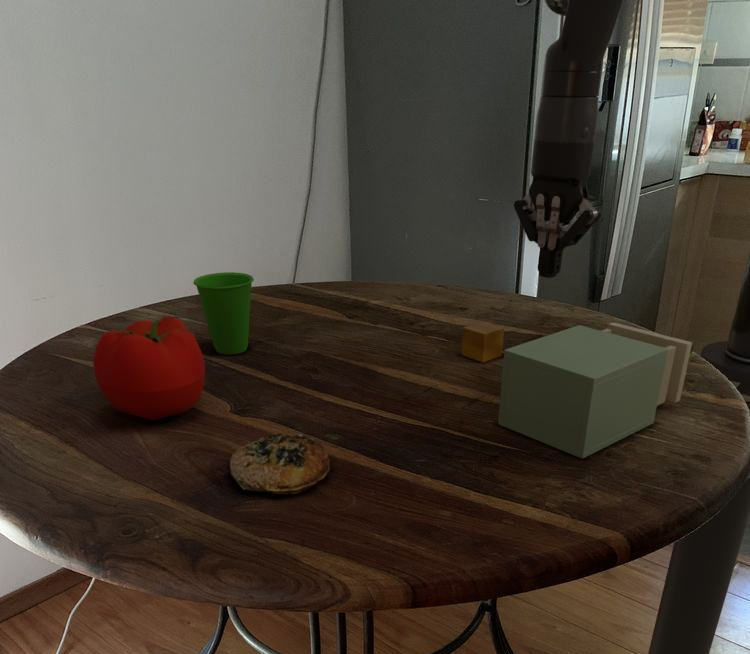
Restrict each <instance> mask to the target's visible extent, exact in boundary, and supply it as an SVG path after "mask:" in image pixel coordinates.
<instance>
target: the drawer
mask: <svg viewBox="0 0 750 654" xmlns="http://www.w3.org/2000/svg"><path fill="white" fill-rule="evenodd" d="M600 331H604V332H607V333H611V334H615V335H619V336H622V337H626V338H630V339H634V340H637V341H641V342H645V343H649V344H652V345H656V346H660V347H664V348H667V349H668V352H667V358H666V363H665V368H664V373H663V378H662V383H661V388H660V393H659V398H658V403H657V407H658V406H659V405H662V404H664V403H665V402H667V401H668V402H671V403H674V404H676V403H678V402H680V401H681V398H682V393H683V388H684V384H685V379H686V374H687V370H688V365H689V360H690V355H691V354H693V351H694V344H693V342H692V341H688V340H686V339H685V340H684V339H682V338H681V339H680V338H678V337H677V338H676V337H672V336H668V335H665V334H660V333H657V332H653V331H649V330H647V329H646V330H645V329H641V328H638V327H634V326H630V325H626V324H623V323H622V324H621V323H618V322H615V321H613V322H610V323H608V325H607V328H605V329H601V330H600Z"/></svg>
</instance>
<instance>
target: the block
mask: <svg viewBox="0 0 750 654" xmlns="http://www.w3.org/2000/svg"><path fill="white" fill-rule="evenodd" d="M504 335H505V328H504V327H502V326H498V325H496V324H492V323H489V322H485V321H481V322H480V321H479V322H477V323H473V324H471V325H467V326H463V327H462V344H461V356H463V357H466V358H469V359H471V360H474V361H477V362H480V363H485V362H489V361H491V360H495V359H497V358H500V357H503V351H504V350H503V349H504V348H503V347H504V339H505V337H504Z"/></svg>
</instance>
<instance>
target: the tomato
mask: <svg viewBox="0 0 750 654" xmlns="http://www.w3.org/2000/svg"><path fill="white" fill-rule="evenodd" d="M191 330H193V329H188V327H187V326H186V325H185V324H184V322H182V320H181V319H178V318H175V317H169V316H163V318H160V319H157V320H155V321H154V322H153V321H151V320H137V321H136V322H134V323H132V324H130V325H129V326H127V327H126V328H124V329H119V330H117V329H112V330H109V331H107V332H105V333H104V332H103V333H102V335H101V336H100V338H99V340H98V342H97V344H95V347H94V348H95V349H94V354H93V360H92V362H93V370H94V377H95V380H96V382H97V384H98V386H99V388H100V390H101V393H102V394H103V395H104V397H105V398H106V400H107V401H108V402H109V404H111V406H112V407H113V408H115V409H117V410H118V411H120V412H121V413H125V414H127V415H131V416H135V417H139V418H143V419H146V420H149V421H152V422H153V421H154V422H155V421H158V420H161V419H164V418H166V417H169V416H170V417H177V416H180V415H182V414H184V413H186V412H189V410H191V409H192V408H193V407H194V406H195V405H196V403H197V402H198V400H200V398H201V396H202V393H203V390H204V387H205V377H206V367H205V365H206V364H205V361H204V354H203V352H202V350H201V347H200V346H199V342H197V338H196V336H195V333H193V332H192V331H191Z"/></svg>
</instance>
